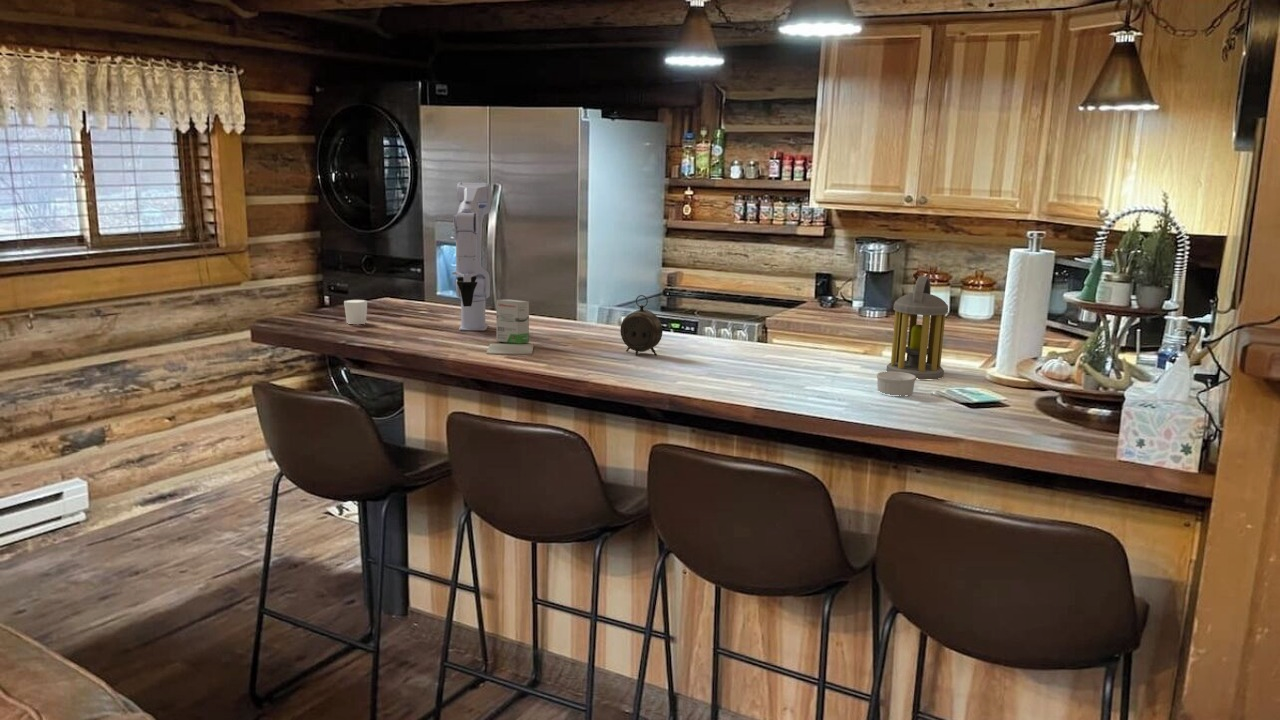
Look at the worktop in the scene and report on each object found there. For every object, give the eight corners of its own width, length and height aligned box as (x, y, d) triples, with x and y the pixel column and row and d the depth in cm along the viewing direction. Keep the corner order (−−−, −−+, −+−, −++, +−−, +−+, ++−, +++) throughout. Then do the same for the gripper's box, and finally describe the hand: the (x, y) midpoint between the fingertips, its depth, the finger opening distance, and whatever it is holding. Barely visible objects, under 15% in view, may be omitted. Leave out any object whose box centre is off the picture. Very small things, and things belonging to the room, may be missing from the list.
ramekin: (891, 399, 217) (893, 381, 216) (867, 390, 225) (869, 372, 224) (922, 396, 221) (924, 378, 220) (898, 387, 229) (899, 370, 228)
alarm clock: (662, 354, 258) (664, 295, 254) (654, 358, 253) (656, 298, 250) (625, 350, 262) (627, 292, 259) (617, 354, 257) (618, 294, 254)
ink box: (530, 342, 268) (530, 300, 266) (518, 344, 264) (518, 302, 262) (507, 339, 273) (507, 298, 271) (495, 341, 269) (495, 299, 267)
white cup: (364, 325, 288) (363, 303, 286) (341, 325, 288) (340, 302, 286) (370, 322, 295) (370, 299, 293) (348, 321, 295) (347, 298, 293)
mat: (490, 345, 265) (490, 343, 265) (533, 345, 266) (533, 344, 266) (486, 354, 253) (486, 352, 253) (531, 354, 254) (531, 353, 254)
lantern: (893, 365, 253) (901, 271, 247) (948, 372, 246) (957, 275, 241) (880, 375, 240) (888, 276, 235) (937, 382, 234) (947, 281, 229)
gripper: (451, 252, 273) (452, 299, 276) (452, 259, 259) (452, 308, 262) (476, 252, 274) (477, 299, 277) (478, 259, 260) (478, 308, 263)
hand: (467, 303), depth 269 cm, fingers open, 7 cm apart
